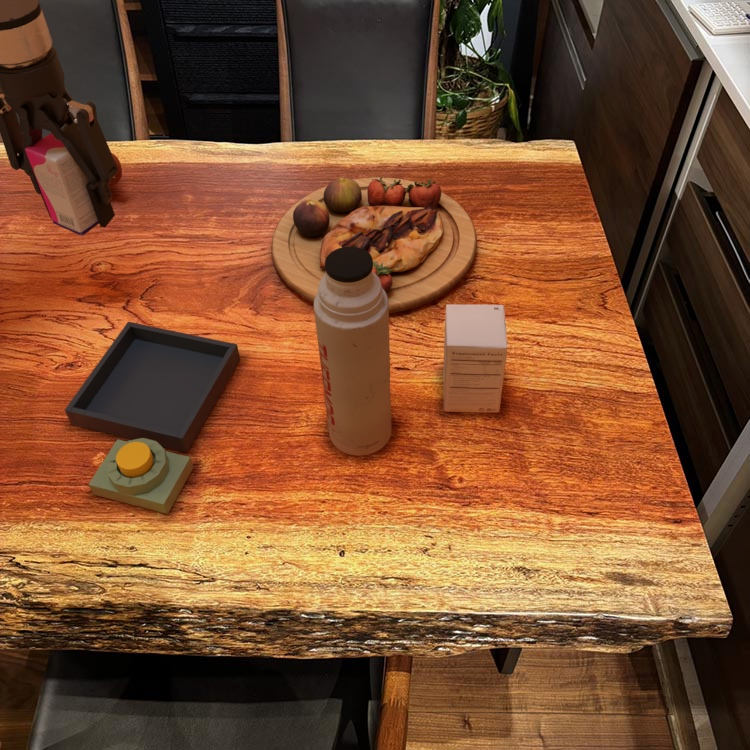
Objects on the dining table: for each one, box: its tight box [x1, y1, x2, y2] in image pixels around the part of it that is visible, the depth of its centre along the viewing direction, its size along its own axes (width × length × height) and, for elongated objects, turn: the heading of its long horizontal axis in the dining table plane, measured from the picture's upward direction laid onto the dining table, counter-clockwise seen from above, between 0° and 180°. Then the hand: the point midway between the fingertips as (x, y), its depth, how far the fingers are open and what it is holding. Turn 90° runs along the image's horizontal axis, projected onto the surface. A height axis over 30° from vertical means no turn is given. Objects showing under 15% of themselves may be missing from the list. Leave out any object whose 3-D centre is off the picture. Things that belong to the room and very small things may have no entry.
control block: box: [88, 438, 194, 515], centre depth 96 cm, size 10×7×4 cm
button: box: [116, 442, 154, 478], centre depth 94 cm, size 4×4×2 cm
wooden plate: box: [270, 176, 478, 314], centre depth 123 cm, size 32×32×8 cm
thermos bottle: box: [313, 247, 393, 457], centre depth 91 cm, size 8×8×28 cm
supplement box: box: [25, 132, 100, 237], centre depth 104 cm, size 6×6×12 cm
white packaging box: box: [442, 303, 509, 414], centre depth 101 cm, size 7×7×13 cm
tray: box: [64, 321, 241, 454], centre depth 106 cm, size 17×17×3 cm
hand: (82, 216), depth 108 cm, fingers closed on supplement box, 7 cm apart
